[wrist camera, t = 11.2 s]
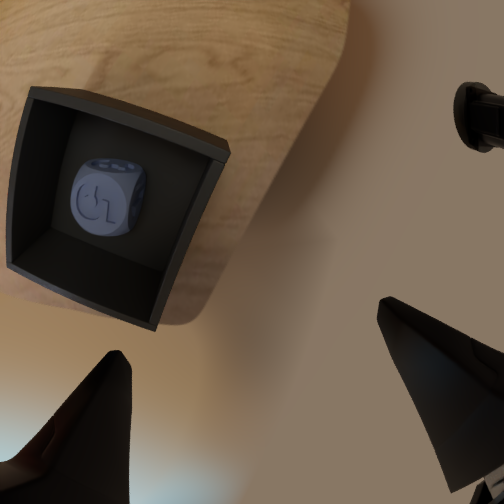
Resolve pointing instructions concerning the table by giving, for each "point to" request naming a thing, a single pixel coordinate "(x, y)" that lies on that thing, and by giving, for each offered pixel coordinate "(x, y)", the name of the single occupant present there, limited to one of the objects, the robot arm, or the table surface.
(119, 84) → the table surface
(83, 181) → the decorative dice
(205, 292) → the table surface
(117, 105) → the waste bin
